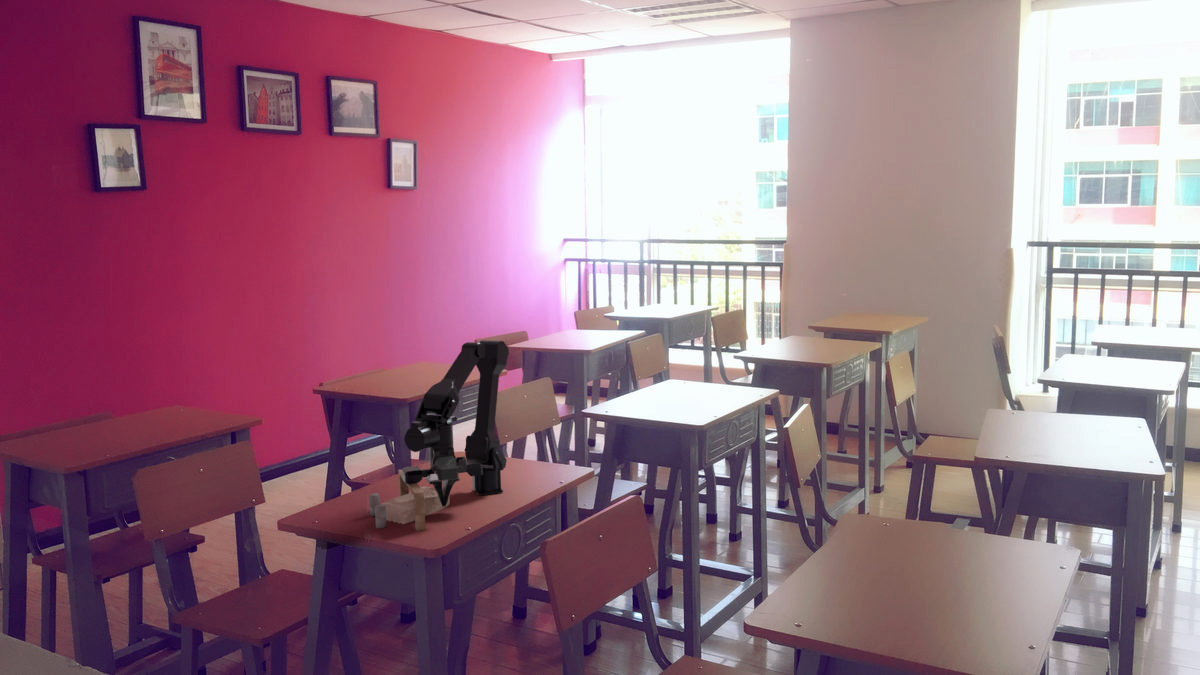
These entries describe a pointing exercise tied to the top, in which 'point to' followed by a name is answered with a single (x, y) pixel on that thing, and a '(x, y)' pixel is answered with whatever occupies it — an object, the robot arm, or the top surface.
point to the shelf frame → (380, 509)
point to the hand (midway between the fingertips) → (443, 506)
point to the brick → (412, 506)
